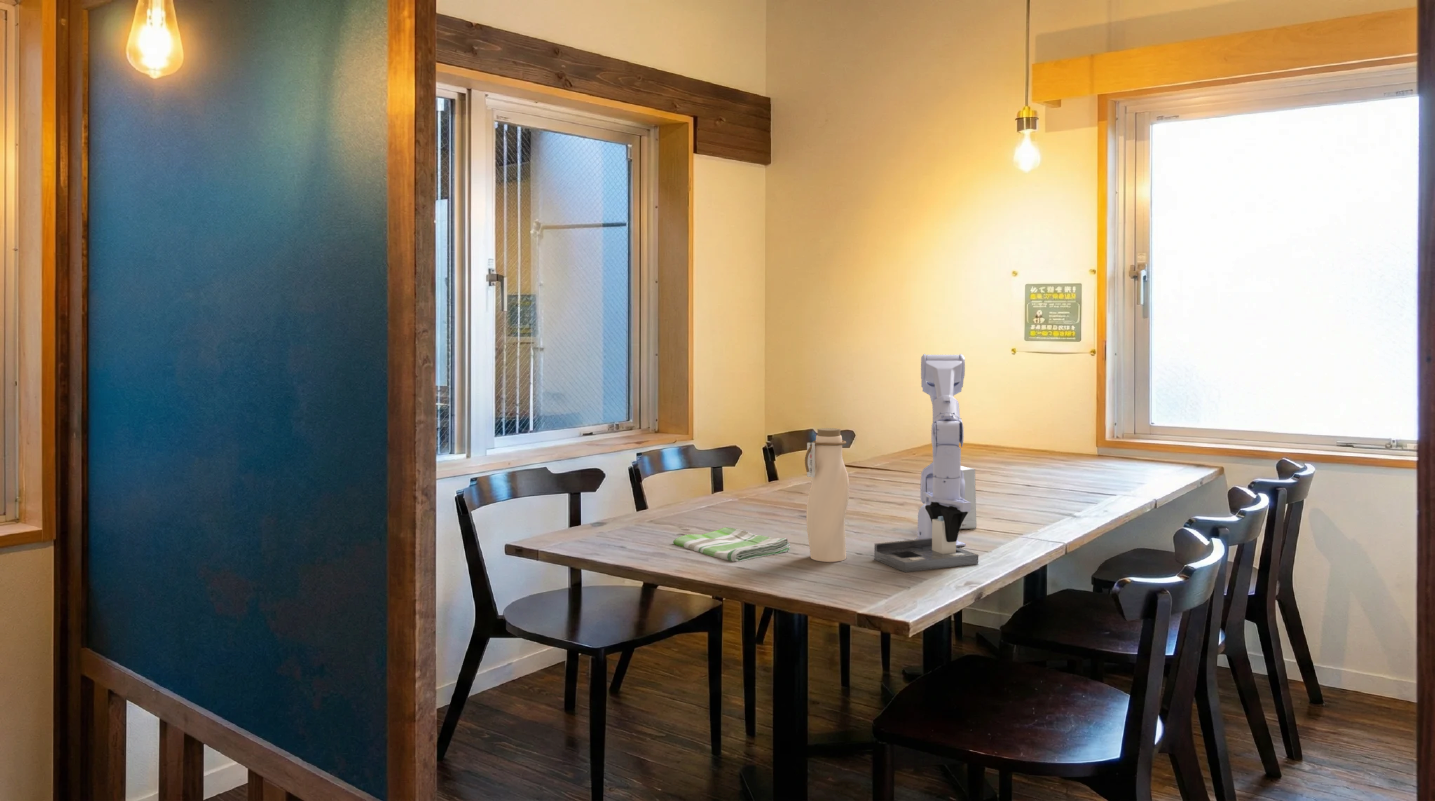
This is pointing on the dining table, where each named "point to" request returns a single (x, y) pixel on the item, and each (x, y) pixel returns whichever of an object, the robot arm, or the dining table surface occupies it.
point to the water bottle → (827, 496)
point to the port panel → (920, 556)
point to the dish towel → (733, 544)
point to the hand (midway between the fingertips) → (945, 539)
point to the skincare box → (969, 498)
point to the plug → (941, 537)
